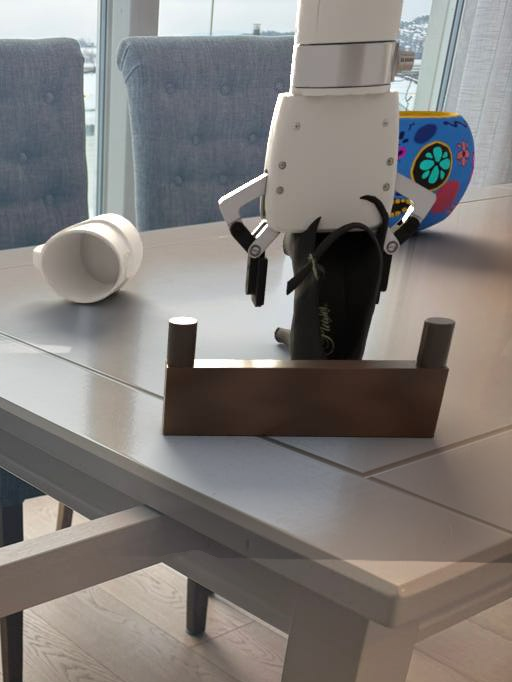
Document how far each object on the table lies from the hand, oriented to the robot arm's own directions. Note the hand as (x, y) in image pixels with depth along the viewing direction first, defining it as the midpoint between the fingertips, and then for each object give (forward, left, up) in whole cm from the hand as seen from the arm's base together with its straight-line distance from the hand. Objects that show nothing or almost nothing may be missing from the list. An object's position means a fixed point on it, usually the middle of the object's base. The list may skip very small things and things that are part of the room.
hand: (313, 301), depth 81 cm
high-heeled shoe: (0, -7, +3) cm, 7 cm away
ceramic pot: (-23, -64, -5) cm, 68 cm away
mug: (+21, -25, -5) cm, 33 cm away
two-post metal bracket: (+4, +18, -5) cm, 19 cm away
